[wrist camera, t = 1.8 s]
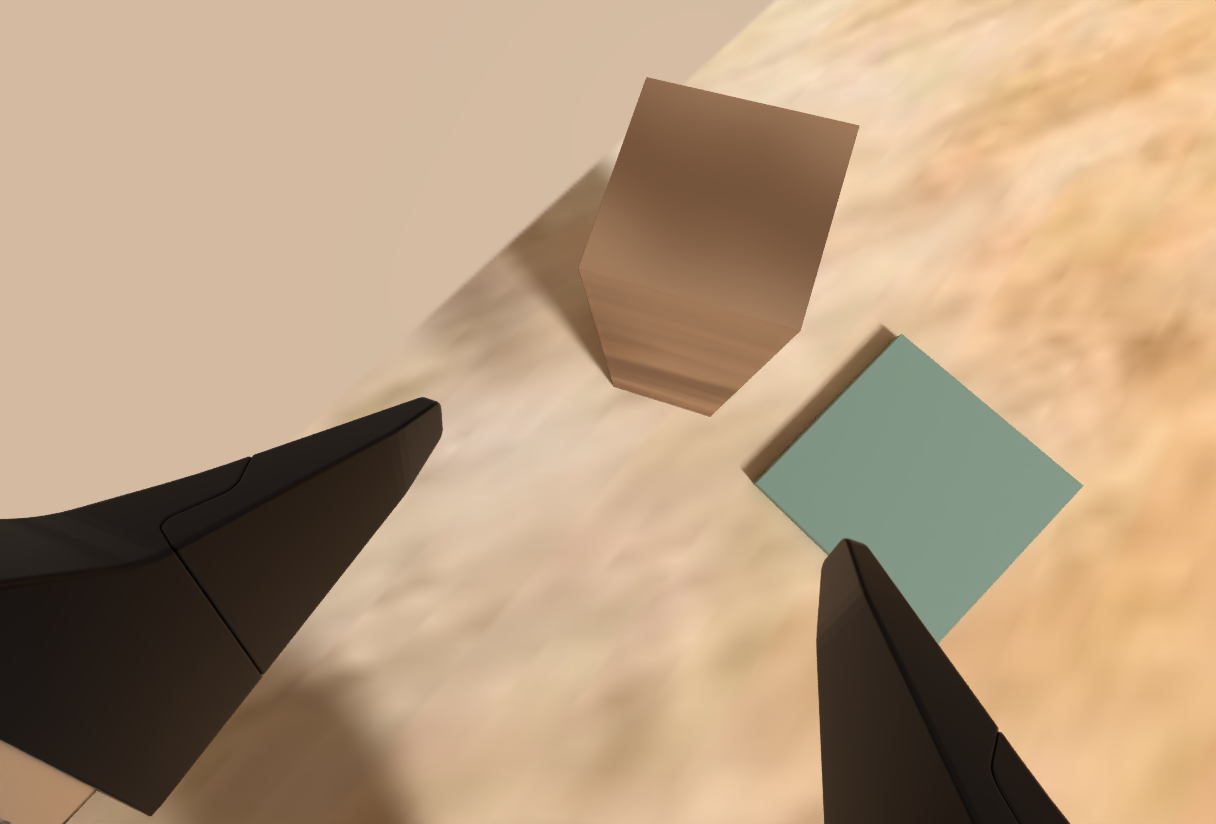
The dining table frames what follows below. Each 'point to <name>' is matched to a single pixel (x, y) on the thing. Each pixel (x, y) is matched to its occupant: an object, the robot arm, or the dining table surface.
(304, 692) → the dining table surface
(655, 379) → the letter block
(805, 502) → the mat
